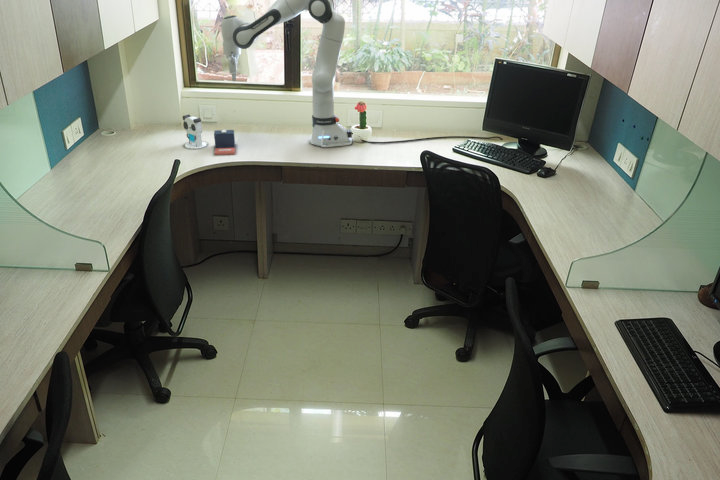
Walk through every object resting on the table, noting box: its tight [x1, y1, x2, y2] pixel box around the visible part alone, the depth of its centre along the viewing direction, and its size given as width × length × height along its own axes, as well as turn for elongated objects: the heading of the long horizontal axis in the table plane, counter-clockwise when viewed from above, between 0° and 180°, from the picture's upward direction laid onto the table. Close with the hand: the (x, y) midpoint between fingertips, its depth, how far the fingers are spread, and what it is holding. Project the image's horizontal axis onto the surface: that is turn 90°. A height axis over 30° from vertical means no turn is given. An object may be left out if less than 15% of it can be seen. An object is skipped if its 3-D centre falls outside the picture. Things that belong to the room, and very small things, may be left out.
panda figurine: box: [182, 114, 208, 150], centre depth 322 cm, size 12×11×15 cm
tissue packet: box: [214, 147, 236, 156], centre depth 316 cm, size 10×7×1 cm
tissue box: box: [213, 129, 236, 149], centre depth 321 cm, size 10×6×9 cm, turn 97°
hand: (234, 78), depth 319 cm, fingers open, 8 cm apart
